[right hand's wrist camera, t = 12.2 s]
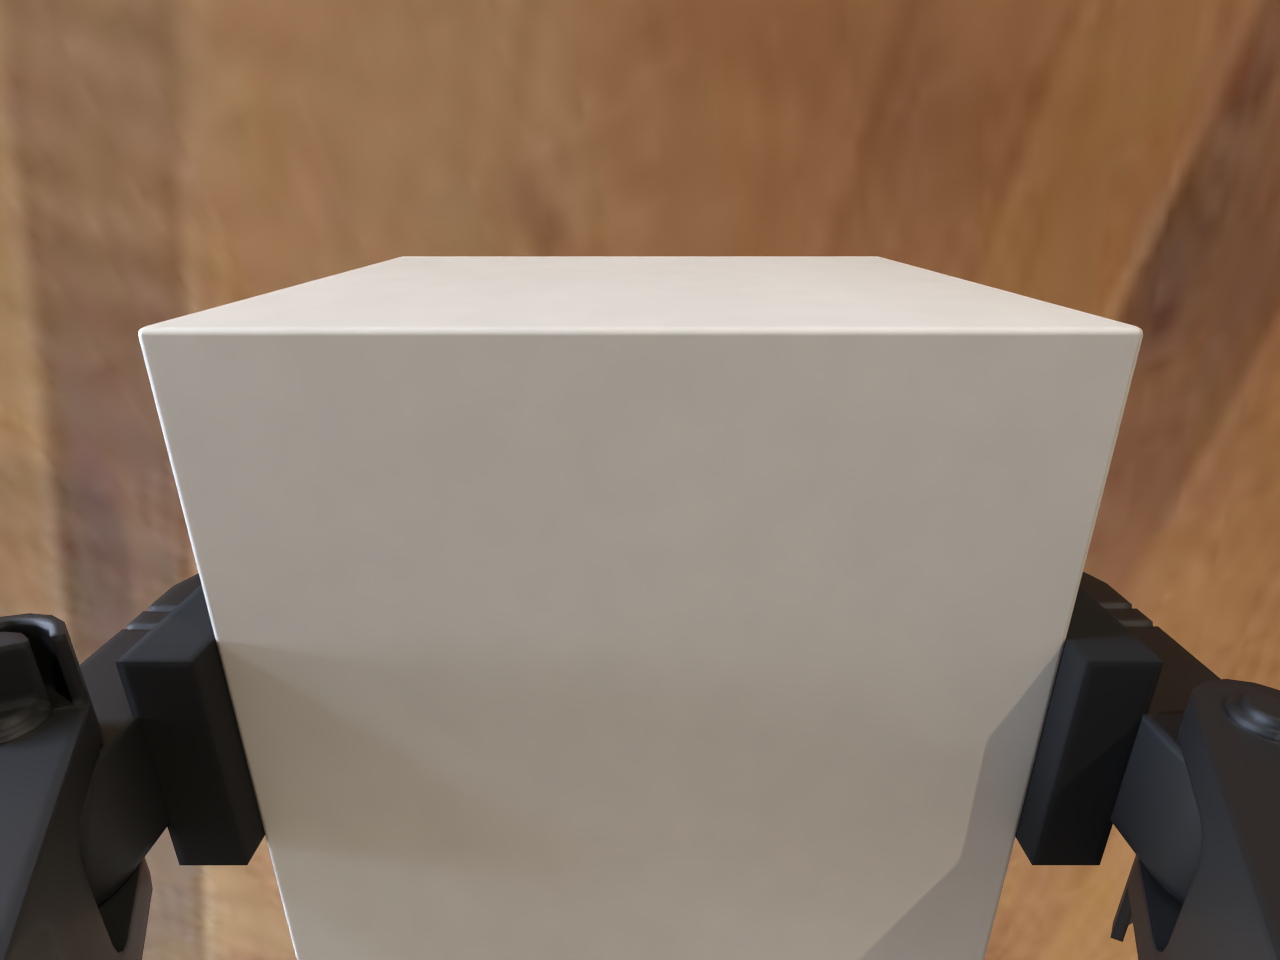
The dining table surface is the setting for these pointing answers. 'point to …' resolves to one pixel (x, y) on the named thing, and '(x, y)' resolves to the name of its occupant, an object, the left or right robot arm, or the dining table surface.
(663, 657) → the white cube
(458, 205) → the dining table surface
